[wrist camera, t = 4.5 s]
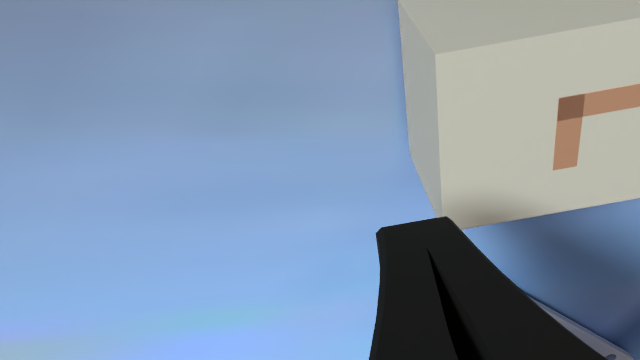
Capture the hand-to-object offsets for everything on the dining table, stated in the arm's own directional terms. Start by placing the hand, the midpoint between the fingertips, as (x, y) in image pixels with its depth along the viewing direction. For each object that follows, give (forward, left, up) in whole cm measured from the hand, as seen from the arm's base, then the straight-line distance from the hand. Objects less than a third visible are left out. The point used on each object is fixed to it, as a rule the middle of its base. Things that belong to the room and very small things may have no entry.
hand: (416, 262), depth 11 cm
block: (-4, -4, -6) cm, 8 cm away
